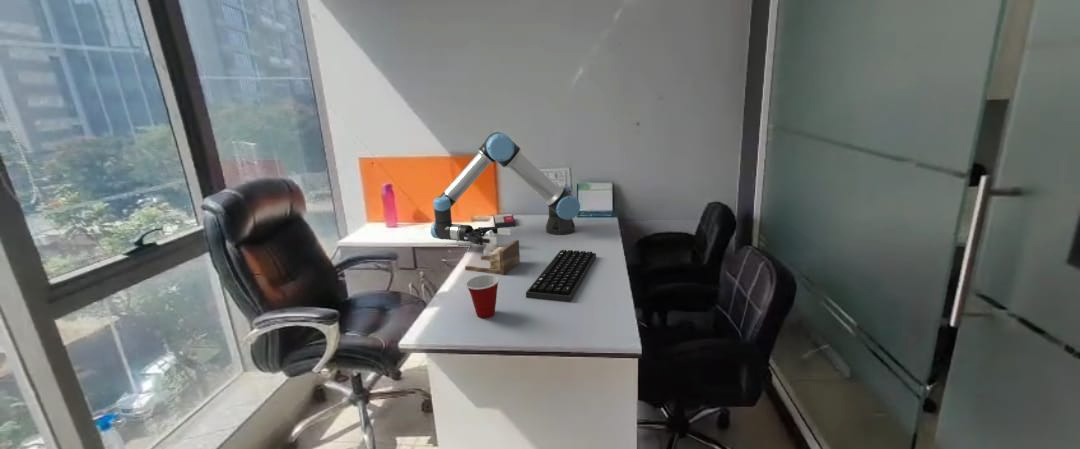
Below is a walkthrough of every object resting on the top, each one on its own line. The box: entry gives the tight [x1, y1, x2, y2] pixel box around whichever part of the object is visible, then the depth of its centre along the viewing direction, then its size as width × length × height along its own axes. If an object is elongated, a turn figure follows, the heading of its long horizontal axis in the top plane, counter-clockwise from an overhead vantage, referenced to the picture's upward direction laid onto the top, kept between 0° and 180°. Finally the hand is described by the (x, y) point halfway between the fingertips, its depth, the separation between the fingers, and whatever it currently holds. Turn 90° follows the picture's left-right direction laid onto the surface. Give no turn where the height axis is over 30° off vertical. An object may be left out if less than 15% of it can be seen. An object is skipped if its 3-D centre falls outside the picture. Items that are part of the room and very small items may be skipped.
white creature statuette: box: [482, 230, 498, 256], centre depth 201 cm, size 10×9×12 cm
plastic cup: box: [465, 274, 500, 319], centre depth 147 cm, size 11×11×12 cm
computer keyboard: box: [525, 249, 597, 303], centre depth 177 cm, size 45×16×4 cm, turn 162°
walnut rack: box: [464, 239, 521, 276], centre depth 189 cm, size 18×15×10 cm
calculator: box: [492, 213, 516, 229], centre depth 253 cm, size 11×4×15 cm
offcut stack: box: [489, 246, 505, 270], centre depth 187 cm, size 5×10×7 cm, turn 161°
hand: (504, 236), depth 201 cm, fingers open, 13 cm apart
